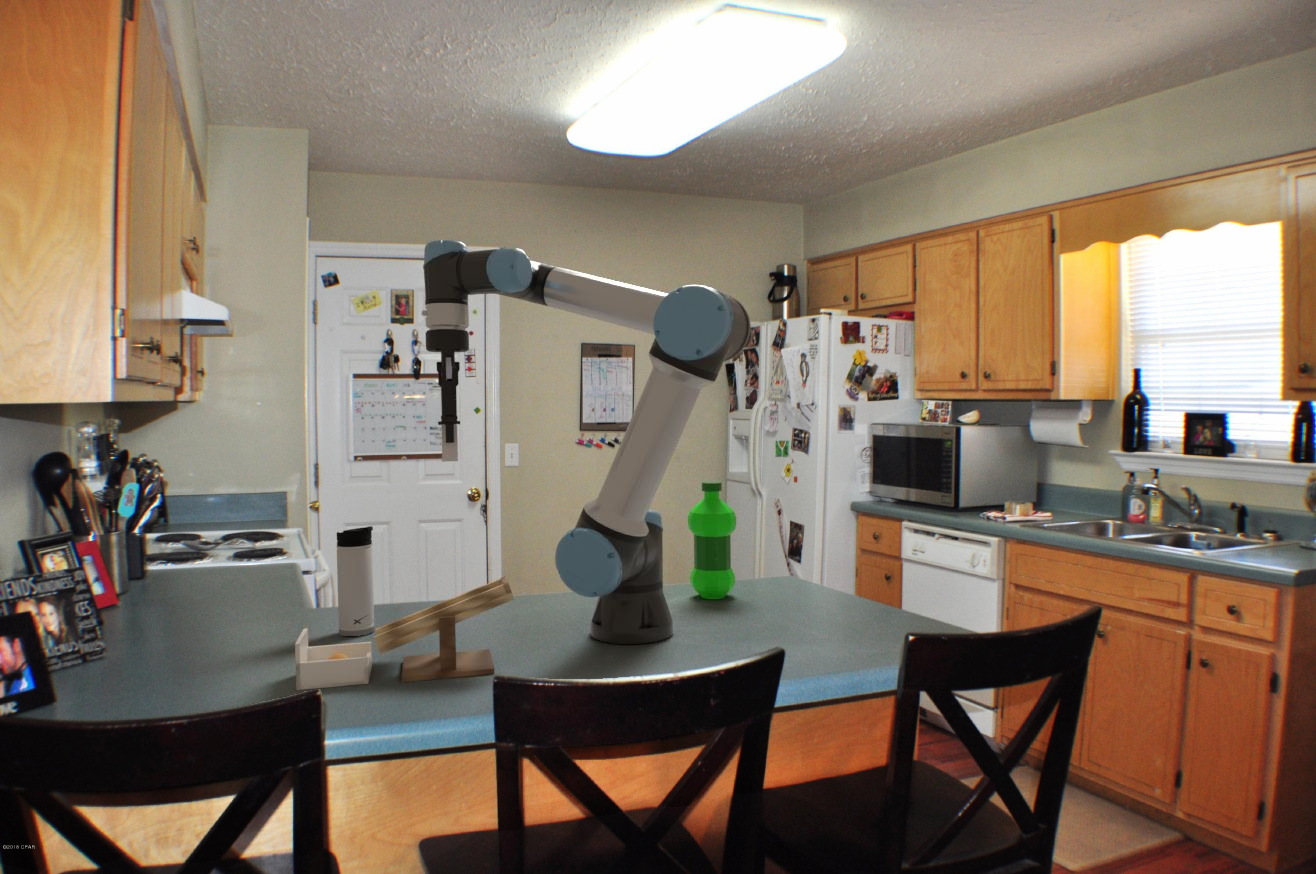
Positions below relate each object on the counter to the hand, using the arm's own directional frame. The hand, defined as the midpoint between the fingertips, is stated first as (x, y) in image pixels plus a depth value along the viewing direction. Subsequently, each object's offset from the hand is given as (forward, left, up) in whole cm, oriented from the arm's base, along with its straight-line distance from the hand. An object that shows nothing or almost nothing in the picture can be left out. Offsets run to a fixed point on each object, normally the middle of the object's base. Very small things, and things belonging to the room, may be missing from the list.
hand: (450, 460), depth 153 cm
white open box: (+6, +24, -32) cm, 41 cm away
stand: (-8, +15, -32) cm, 37 cm away
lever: (-6, +12, -25) cm, 28 cm away
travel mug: (+20, +1, -33) cm, 38 cm away
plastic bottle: (-37, -45, -33) cm, 67 cm away
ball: (+6, +24, -30) cm, 39 cm away
